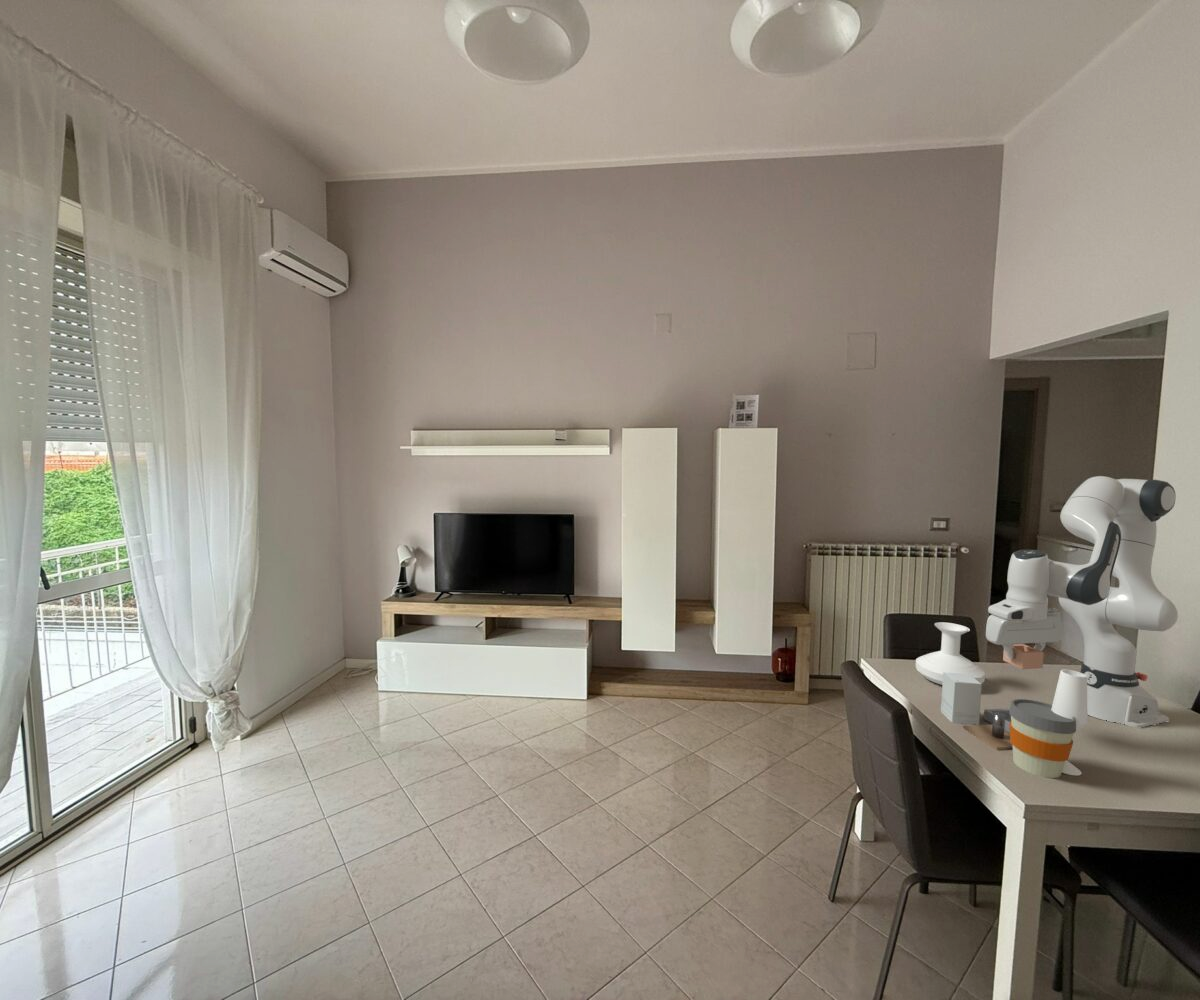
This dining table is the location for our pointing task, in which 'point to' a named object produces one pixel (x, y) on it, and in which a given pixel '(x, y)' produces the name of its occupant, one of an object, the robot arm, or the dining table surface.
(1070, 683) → the champagne flute
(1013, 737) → the reusable coffee cup
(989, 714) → the tray
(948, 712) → the supplement box
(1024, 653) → the collar
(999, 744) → the stake board
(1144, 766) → the dining table surface
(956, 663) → the candle holder
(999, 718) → the cylinder
